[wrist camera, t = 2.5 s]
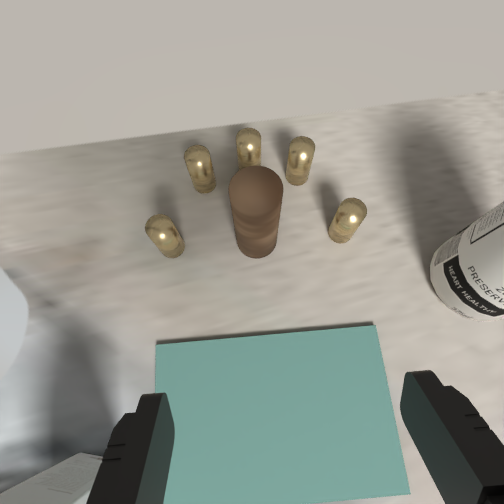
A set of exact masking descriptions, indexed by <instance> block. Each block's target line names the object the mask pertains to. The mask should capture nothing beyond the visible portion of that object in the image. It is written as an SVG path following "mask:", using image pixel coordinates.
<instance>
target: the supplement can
mask: <svg viewBox="0 0 504 504" xmlns="http://www.w3.org/2000/svg"><path fill="white" fill-rule="evenodd" d="M430 277H431V282H432V284H433V287H434V289H435V291H436V294H437V295H438V296H439V298H440V299H441V300H442V301H443V302H444V303H445V305H446V306H447V307H448V308H450V309H451V310H453V311H454V312H456V313H457V314H459V315H460V316H462V317H465V318H468V319H472V320H475V321H479V322H482V321H496V320H501V319H504V202H502V203H501V204H499V205H498V206H496V207H495V208H493V209H492V210H491V211H489V212H488V213H486V214H485V215H483V216H482V217H480V218H479V219H478V220H476V221H475V222H473V223H472V224H470V225H469V226H467V227H466V228H465V229H463V230H462V231H460V232H459V233H457V234H456V235H455V236H453V237H452V238H450V239H449V240H447V241H446V242H444V243H443V244H442V245H441V246H440V247H439V248H438V249H437V250H436V251H435V253H434V255H433V258H432V261H431V264H430Z"/></svg>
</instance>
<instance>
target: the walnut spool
mask: <svg viewBox="0 0 504 504" xmlns="http://www.w3.org/2000/svg"><path fill="white" fill-rule="evenodd" d="M282 196H283V184H282V181H281V179H280V177H279V176H278V175H277V174H276V173H275V172H274V171H273V170H271V169H269V168H267V167H263V166H249V167H246V168H243V169H241V170H240V171H238V172H237V173H236V174H235V175H234V176H233V177H232V179H231V181H230V184H229V197H230V203H231V209H232V215H233V221H234V227H235V233H236V238H237V244H238V247H239V249H240V250H241V252H242V253H243V254H245V255H246V256H248V257H251V258H262V257H265V256H267V255H269V254H270V253H271V252H272V251H273V250H274V248H275V246H276V241H277V233H278V226H279V219H280V211H281V204H282Z"/></svg>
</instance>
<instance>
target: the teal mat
mask: <svg viewBox="0 0 504 504" xmlns="http://www.w3.org/2000/svg"><path fill="white" fill-rule="evenodd" d="M164 392H165V393H166V394H167V397H168V401H169V405H170V409H171V413H172V417H173V421H174V427H175V439H174V446H173V452H172V457H171V463H170V469H169V474H168V480H167V485H166V491H165V497H164V502H163V504H312V503H323V502H333V501H344V500H354V499H365V498H375V497H386V496H396V495H407V494H411V493H410V489H409V484H408V479H407V474H406V469H405V465H404V460H403V455H402V450H401V445H400V440H399V436H398V431H397V426H396V421H395V416H394V411H393V407H392V402H391V397H390V392H389V387H388V383H387V378H386V373H385V368H384V363H383V358H382V354H381V349H380V344H379V339H378V334H377V329H376V325H371V326H360V327H349V328H338V329H327V330H316V331H305V332H293V333H282V334H271V335H260V336H249V337H238V338H226V339H215V340H204V341H193V342H182V343H171V344H159V345H156V373H155V393H164Z"/></svg>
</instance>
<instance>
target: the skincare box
mask: <svg viewBox="0 0 504 504" xmlns="http://www.w3.org/2000/svg"><path fill="white" fill-rule="evenodd" d="M102 459H103V457H102V456H97V455H91V454H86V453H78V454H76V455H74V456H72V457H70V458H68V459H66V460H64V461H62V462H60V463H58V464H56V465H55V466H53V467H51V468H49V469H47V470H45V471H43V472H41V473H39V474H37V475H35V476H33V477H31V478H30V479H28V480H26V481H24V482H22V483H20V484H18V485H16V486H14V487H12V488H10V489H8V490H7V491H5V492H3V493H1V494H0V504H86V502H87V499H88V497H89V494H90V491H91V489H92V486H93V483H94V480H95V478H96V475H97V472H98V470H99V467H100V464H101V463H102Z"/></svg>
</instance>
